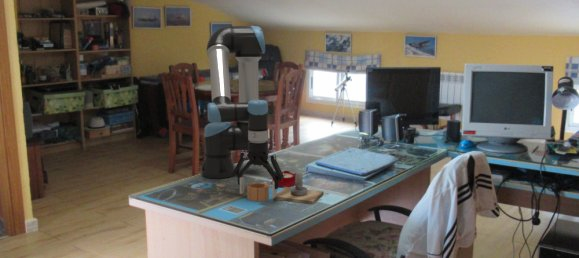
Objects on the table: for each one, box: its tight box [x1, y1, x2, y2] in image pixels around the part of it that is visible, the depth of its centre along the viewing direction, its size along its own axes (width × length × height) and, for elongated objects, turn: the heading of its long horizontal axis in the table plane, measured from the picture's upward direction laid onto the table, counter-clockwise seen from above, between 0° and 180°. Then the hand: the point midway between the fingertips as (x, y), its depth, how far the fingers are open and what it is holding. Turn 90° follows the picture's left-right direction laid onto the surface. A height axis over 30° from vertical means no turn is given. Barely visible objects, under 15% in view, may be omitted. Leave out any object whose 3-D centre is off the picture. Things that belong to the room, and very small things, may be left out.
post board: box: [273, 172, 325, 205], centre depth 224 cm, size 16×13×9 cm
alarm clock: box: [267, 170, 297, 188], centre depth 243 cm, size 10×6×15 cm
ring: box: [246, 182, 270, 202], centre depth 222 cm, size 8×8×5 cm
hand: (258, 195), depth 222 cm, fingers open, 13 cm apart
